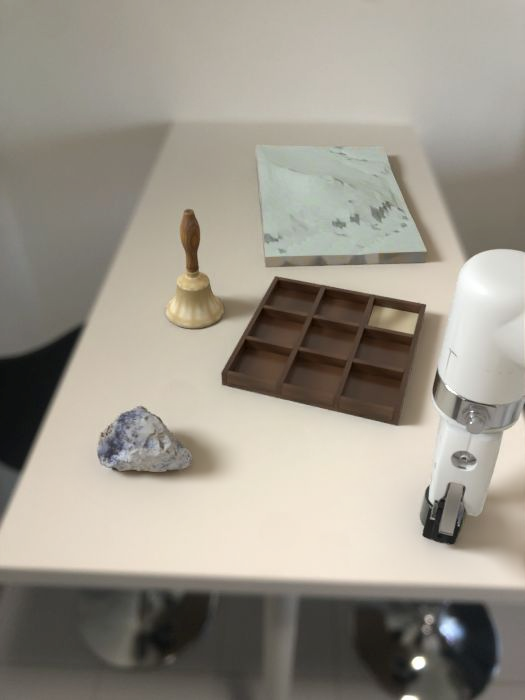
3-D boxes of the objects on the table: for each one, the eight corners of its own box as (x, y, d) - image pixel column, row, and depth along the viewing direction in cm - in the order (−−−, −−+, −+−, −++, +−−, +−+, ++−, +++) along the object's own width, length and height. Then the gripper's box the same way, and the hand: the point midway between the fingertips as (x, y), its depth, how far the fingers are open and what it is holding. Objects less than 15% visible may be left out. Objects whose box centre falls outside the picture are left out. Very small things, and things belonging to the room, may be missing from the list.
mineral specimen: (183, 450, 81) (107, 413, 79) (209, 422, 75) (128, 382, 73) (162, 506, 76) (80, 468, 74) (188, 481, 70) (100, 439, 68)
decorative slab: (244, 159, 133) (244, 134, 130) (381, 156, 134) (384, 131, 131) (251, 267, 104) (251, 239, 101) (425, 262, 105) (430, 234, 102)
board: (424, 316, 95) (426, 304, 94) (397, 425, 79) (399, 413, 78) (274, 287, 100) (275, 275, 99) (221, 384, 84) (221, 372, 83)
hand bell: (232, 299, 98) (229, 200, 88) (212, 334, 92) (205, 231, 82) (179, 289, 100) (170, 190, 89) (156, 322, 94) (143, 221, 83)
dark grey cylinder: (465, 507, 70) (472, 486, 68) (460, 542, 67) (468, 521, 65) (422, 496, 71) (428, 475, 69) (416, 530, 68) (422, 509, 66)
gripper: (521, 475, 50) (471, 601, 62) (528, 338, 62) (485, 465, 74) (419, 451, 52) (390, 578, 64) (445, 322, 64) (417, 449, 76)
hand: (441, 516), depth 69 cm, fingers closed on dark grey cylinder, 4 cm apart
